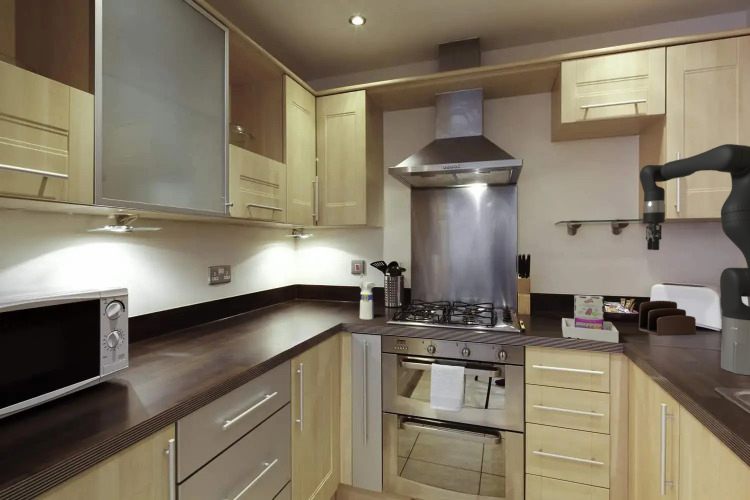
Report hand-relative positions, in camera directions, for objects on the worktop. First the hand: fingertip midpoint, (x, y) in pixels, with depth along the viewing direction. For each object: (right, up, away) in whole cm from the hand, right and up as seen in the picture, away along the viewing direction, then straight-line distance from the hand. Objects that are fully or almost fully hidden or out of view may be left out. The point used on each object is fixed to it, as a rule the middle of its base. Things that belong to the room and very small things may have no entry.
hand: (653, 249), depth 155 cm
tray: (-24, -38, +7) cm, 45 cm away
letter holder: (+15, -38, +12) cm, 43 cm away
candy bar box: (-24, -37, +7) cm, 45 cm away
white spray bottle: (-124, -37, +40) cm, 135 cm away
